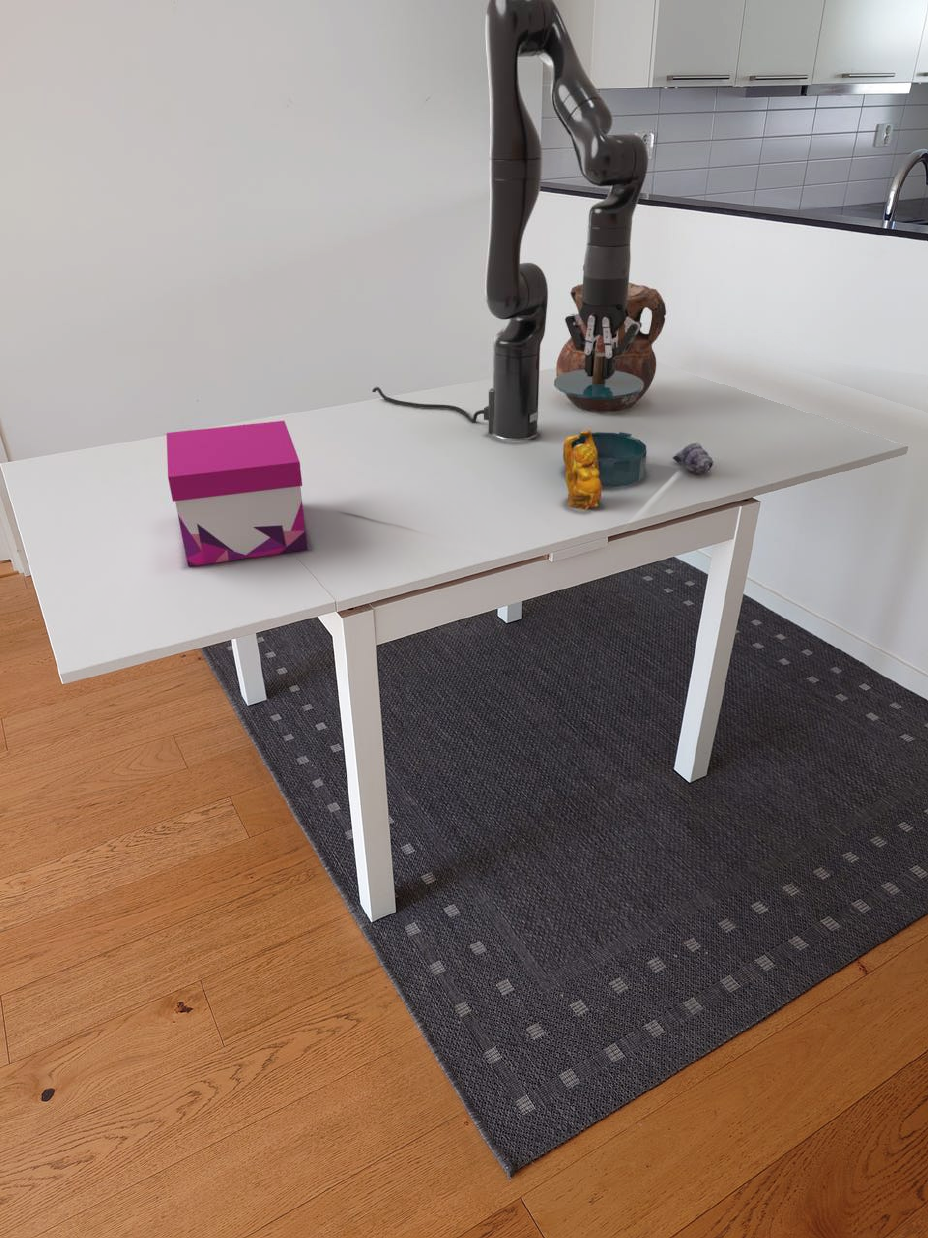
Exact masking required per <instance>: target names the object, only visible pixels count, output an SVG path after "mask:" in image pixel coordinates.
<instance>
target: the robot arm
mask: <svg viewBox="0 0 928 1238" xmlns="http://www.w3.org/2000/svg"><path fill="white" fill-rule="evenodd" d="M484 23H485V25H484V28H485V29H484V31H485V35H484V36H485V52H486V64H487V76H488V91H489V93H488V94H489V129H490V130H489V226H488V227H489V229H488V232H489V233H488V245H487V246H488V247H487V258H486V267H485V277H484V295H485V302H486V304H487V307H488V310H489V312H490V314H492V316H494V317H495V318H496V319H498V320H501V321H502V320H507V321H506V322H505V325H504V326H503V327H502V328H501V330H499V332H497V333H496V335H494V337H493V344H492V356H493V357H492V388H490V389H488V390H489V391H488V405H487V406H485V407H484V408H483V409H480V410H477V411H475V412H474V413H473V416H472V417H471V416H469V414H468V413H467V412H466V411H465V410H464V409H463V408H461V407H458V406H456V405H449V404H431V403H430V404H429V403H417V402H411V401H403V400H399V399H395V398H391V397H388V396H386V395H385V394H384V393H383V391H382V389H381V388H380V387H379V386H376V387H374V388H373V389H372V391H371V392H372V393H377V392H378V394H379V395H380V397H381V398H382V399H383V400H385V401H388V402H391V403H394V404H398V405H401V406H402V405H403V406H409V407H417V408H425V409H427V408H431V409H448V410H454V411H457V412H459V413H460V414H462V415H463V416H464V417H465V418H466V419H467V420H468V421H469V422H471V423H475V422H476V421H477V418H478V416H479V415H483V420H484V421H488V434H490V435H492V436H494V437H495V438H497V439H499V440H502V441H508V442H509V441H511V442H521V441H528V440H529V441H532V440H535V439H536V438H537V437H538V435H539V434H538V433H539V432H538V431H539V430H538V427H539V425H538V420H539V394H540V393H539V390H540V366H541V365H540V363H541V344H542V342H543V339H544V337H545V333H546V325H547V324H546V323H547V313H548V312H547V311H548V301H549V288H548V280H547V277H546V275H545V272H544V271H543V270H542V268H541V267H540V266H539V265H538V264H535V263H533V262H522V263H521V248H522V241H523V238H524V237H523V236H524V234H525V230H526V227H527V225H528V222H529V220H530V218H531V216H532V214H533V212H534V209H535V207H536V204H537V201H538V198H539V195H540V192H541V186H542V171H543V170H542V169H543V158H542V157H543V145H542V141H541V137H540V135H539V132H538V129H537V127H536V126H535V123H534V122H533V119H532V117H531V115H530V113H529V111H528V109H527V106H526V104H525V101H524V99H523V96H522V93H521V87H520V79H519V58H532V57H537V58H538V59H539V60H540V61H541V62H542V63H544V65H545V66H546V68H548V70H549V72H550V74H551V79H550V90H549V91H550V102H551V106H552V110H553V112H554V114H555V116H556V117H557V119H558V121H559V122H560V124H561V125H562V127H563V128H564V130H565V131H566V133H567V134H568V136H569V137H570V139H571V142H572V146H573V150H574V154H575V157H576V161H577V165H578V168H579V171H580V174H581V175H582V177H583V178H584V180H585V181H586V182H588V184H590V185H592V186H593V187H597V188H604V187H605V188H606V187H610V189H609V192H608V195H607V197H606V198H605V199H603V200H601V201H599V202H597V203H595V204H593V205H592V206H591V207H590V209H589V211H588V218H587V233H586V246H585V253H584V259H583V266H582V271H583V275H582V284H583V290H582V306H581V308H580V310H579V312H578V311H577V312H576V313H572V314H571V313H570V314H569V315H567V316H566V317H565V318H564V322H565V324H566V327H567V330H568V333H569V336H570V338H572V340H573V343H574V346H575V348H576V350H581V351H583V352H584V353H585V373H587V376H588V377H592V372H593V357H594V354H595V351H596V347H597V342H598V339H599V337H600V335H601V336H603V337H604V344H605V355H606V357H605V358H604V371H603V379H609V378H610V377H611V376H612V375H613V374H614V372H615V363H616V356H620V355H622V354H624V353H625V352H627V350H628V348H629V347H630V345H631V343H632V342H633V340H634V338H635V337H636V335H637V333H638V332H639V330H640V331H641V328H642V327H643V324H642V322H641V321H640V322H639V321H637V322H635V321H634V320H632V319H631V318H629V317H628V316H629V315H628V311H627V307H626V305H627V297H628V285H629V283H630V273H631V272H630V271H631V260H632V259H631V257H632V254H631V242H632V232H633V231H632V230H633V217H634V213H635V211H636V208H637V206H638V202H639V198H640V195H641V192H642V189H643V187H644V183H645V180H646V177H647V173H648V167H649V152H648V148H647V145H646V143H645V141H644V140H643V138H642V137H641V136H639V135H637V134H633V133H625V134H623V133H622V134H610V135H609V133H610V132H611V129H612V127H613V115H612V111H611V110H610V107H609V106H608V105H607V103H606V102H605V100H604V98H603V97H602V96H601V94H600V93H599V91H598V90H597V88H596V87H595V85H594V83H592V81H591V79H590V77H589V75H588V74H587V73H586V70H585V69H584V67H583V65H582V63H581V61H580V58H579V56H578V54H577V51H576V48H575V46H574V43H573V41H572V39H571V36H570V34H569V31H568V29H567V27H566V25H565V22H564V20H563V17H562V15H561V13H560V10H559V9H558V7H557V4H556V3H555V1H554V0H489V1H488V4H487V8H486V13H485V22H484ZM581 319H582V321H583V323H584V325H585V327H586V328H587V332H586V338H585V336H584V333H583V331H582V328H581V325H580V324H581ZM624 323H625V332H626V334H625V336H624V338H623V339H622V341H621V343H620V344H619V346H618V347H617V341H618V330H619V329H620V328H621V327H622V325H623V324H624Z"/></svg>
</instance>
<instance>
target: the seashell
mask: <svg viewBox="0 0 928 1238" xmlns="http://www.w3.org/2000/svg"><path fill="white" fill-rule="evenodd" d="M672 460H674V462H676V463H677V464H680V463H681V464H683V466H684V467H685V468H686V469H687V470H688V471H689V472H692V473H693V474H704V473H706V472H709V471H710V470H711V469H712V467H713V465H714V461H713V459H712V457H711V456H709V453H708V452H707V450H705V449H704V448H703V446H702V445H701V444H700V443H699V442H692V443H690V444H687V445H686V446H685V447H683V448H682V449H680V450H679V451H678V452H676V453H675V455H673V456H672Z"/></svg>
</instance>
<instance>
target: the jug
mask: <svg viewBox="0 0 928 1238" xmlns="http://www.w3.org/2000/svg"><path fill="white" fill-rule="evenodd" d="M582 290H583V283H581V284H577V285H576V286H573V287H572V288H571V291H570V292H569V293H570V296H571V298H572V300H573V303H574V304H575V307H576V309H577V313H578V312H579V310H580V308H581V306H582ZM626 307H627V311H628V315H629V316H628V317H629V318H631V319H632V320H634V321H635V322H637V321H639V322H641V319H642V314H643V312H644V309H646V308H647V309H648V310H649V311H650V312H651V321H650V326H649V330H648V333H644V332H643V331H641V329H640V330H639V332H638V333H637V335H636V337H635V338H634V340H633V342H632V343H631V345H630V347H629V348H628V350H627V352H625V353H624V354H622V355H620V356H616V363H615V371H620V372H625V373H628V374H631V375H634V376H636V377H638V378H640V379H641V380H642V381H643V383H644V386H643V389H642V390H641V391H640V392H639V393H637V394H635V395H631V396H628V397H622V398H614V399H591V398H583V397H577V396H572V395H569V394H566V393H563V394H564V395H565V396H566V398H567V399H568V400H569V401H570V402H571V403H572V404H573V405H574V406H575V407H577V408H578V409H581V410H585V411H589V412H598V413H599V412H601V413H602V412H605V413H606V412H607V413H610V412H620V411H621V412H622V411H624V410H628V409H631V408H632V407H633V406H634V405H635V404H636V403H637V402H638V401H639V400H640V399H641V398H642V397H643V396H644V395H645V394H646V392H647V391H648V390H649V388H650V387H651V385H652V382H653V381H654V378H655V375H656V371H657V358H656V353H655V352H654V349H653V344H654V343H655V341H657V339H658V337H659V336H660V334H662V331H663V328H664V326H665V323H666V317H665V316H666V315H667V309H666V303H665V301H664V299H663V297H662V295H661V293H659V291H658V290H657V289H656V288H651V287H649V286H647V285H643V284H642V285H640V284H639V285H638V284H636V283H632V282H629V285H628V297H627V305H626ZM580 325H581V328H582V331H583V333H584V336H585V338H586V332H587V328H586V327H585V325H584V323H583V321H582V319H581V324H580ZM625 334H626V332H625V323H624V324H623V325H622V327H621V328H620V329H619V330H618V341H617V347H618V346H619V344H620V343H621V341H622V339H623V338H624V336H625ZM595 353H605V344H604V337H603V336H601V335H600V337H599V339H598V342H597V347H596V351H595ZM576 370H585V353H584V352H583V351H581V350H576V348H575V346H574V343H573V340H572V338H571V337H570V338H569V339H568V340H567V341H566V343H564V345H563V346H562V348H561V350H560V352H559V355H558V357H557V360H556V367H555V372H556V377H558V376H559V375H561V374H564V373H567V372H571V371H576Z"/></svg>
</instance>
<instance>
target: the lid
mask: <svg viewBox="0 0 928 1238" xmlns="http://www.w3.org/2000/svg"><path fill="white" fill-rule="evenodd" d="M605 357H606V355H605V353H595V354H594V357H593V372H592V377H588V376H587V373H585V370H576V371H571V372H567V373H564V374H561V375H559V376H558V377H557V376H556V377H555V378H554V380H553V386H554V387H555V389H556V390H558V391H559V392H561V393H563V394H564V393H566V394H569V395H572V396H577V397H583V398H591V399H614V398H622V397H628V396H631V395H635V394H637V393H639V392H640V391H641V390H642V389H643V386H644V383H643V381H642V380H641V379H640V378H638V377H636V376H634V375H631V374H628V373H625V372H620V371H615V372H614V374H613V375H612V376H611V377H610V378H609V379H603V371H604V358H605Z"/></svg>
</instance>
